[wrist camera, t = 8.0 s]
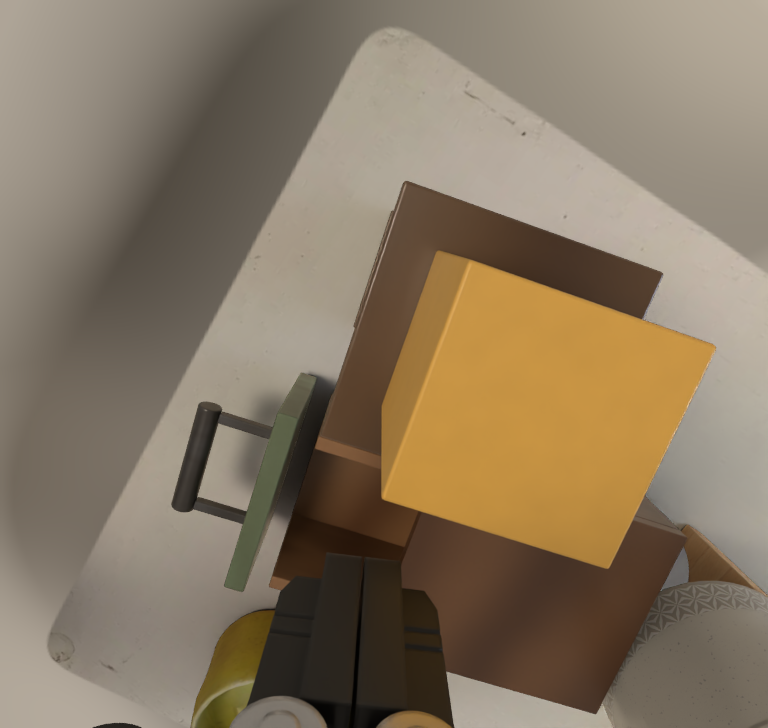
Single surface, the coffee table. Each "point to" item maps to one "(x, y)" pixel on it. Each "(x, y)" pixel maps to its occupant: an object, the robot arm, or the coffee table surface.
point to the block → (532, 410)
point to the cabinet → (539, 604)
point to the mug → (232, 671)
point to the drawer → (315, 499)
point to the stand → (475, 242)
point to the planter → (698, 652)
